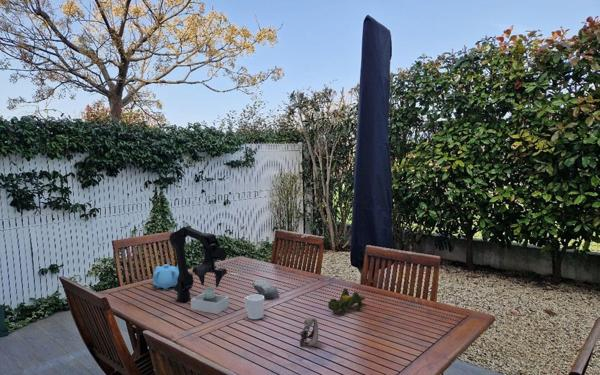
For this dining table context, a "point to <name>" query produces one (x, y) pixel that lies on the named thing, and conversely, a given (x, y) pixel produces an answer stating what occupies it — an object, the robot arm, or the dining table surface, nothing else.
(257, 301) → the mug
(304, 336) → the toy
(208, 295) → the jar
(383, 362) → the dining table surface
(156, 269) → the teapot
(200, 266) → the robot arm
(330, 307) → the toy
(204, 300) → the metal block
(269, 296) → the rock
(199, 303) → the tote
